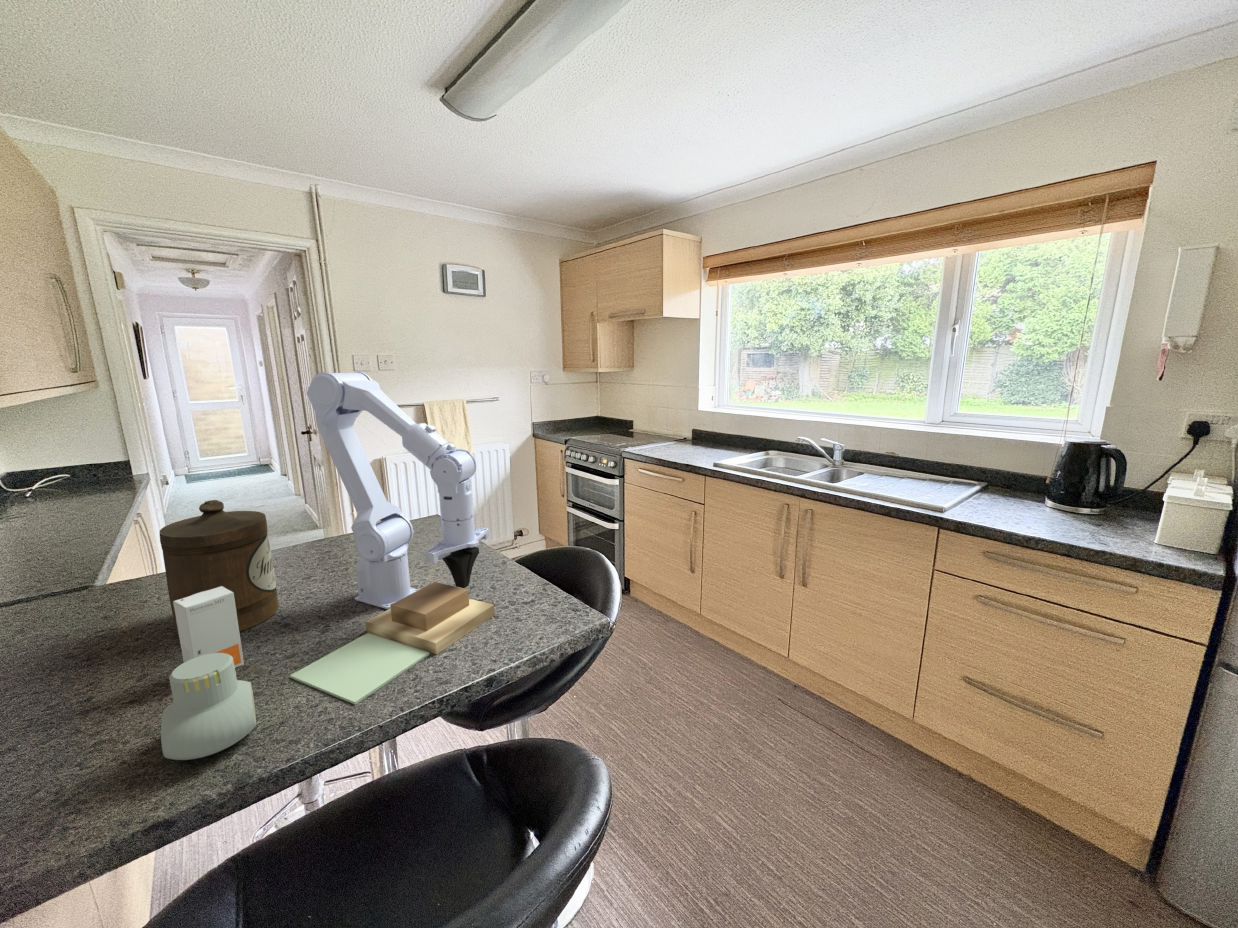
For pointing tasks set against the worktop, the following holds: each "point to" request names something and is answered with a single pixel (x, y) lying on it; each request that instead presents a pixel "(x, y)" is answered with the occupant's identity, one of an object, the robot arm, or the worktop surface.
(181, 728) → the air freshener
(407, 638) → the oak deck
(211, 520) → the wooden container
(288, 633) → the worktop surface
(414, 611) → the walnut tile
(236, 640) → the skincare box
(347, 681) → the sage mat
